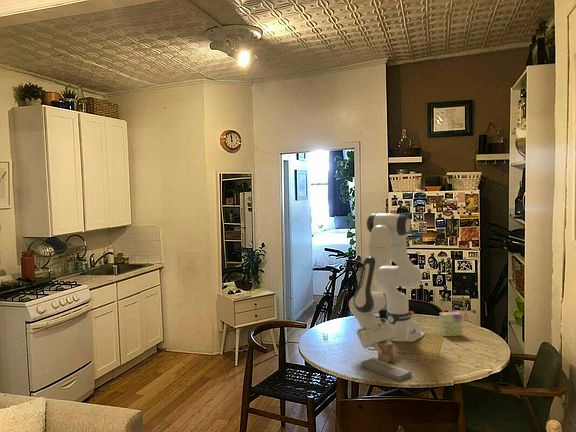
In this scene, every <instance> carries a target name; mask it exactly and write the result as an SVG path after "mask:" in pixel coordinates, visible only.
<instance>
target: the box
mask: <svg viewBox="0 0 576 432" xmlns="http://www.w3.org/2000/svg"><path fill="white" fill-rule="evenodd" d="M438 316H439V318H438V320H439V334H440V335H441V336H443V337H453V336H454V337H458V336H459V337H461V336H462V335H463V323H462V322H463V321H462V319H463V316H462V313H460V311H448V312H447V311H446V312H439V315H438Z"/></svg>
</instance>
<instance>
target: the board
mask: <svg viewBox="0 0 576 432" xmlns="http://www.w3.org/2000/svg"><path fill="white" fill-rule="evenodd" d="M360 367H362V368H364V369H368V370H369V371H371V372H375V373H378V374H379V375H383V376H384V377H387V378H390V379H392V380H395V381H397V382H401V381H403V380H406V379H408V378H410V377H412V371H410V370H408V369H405V368H403V367H400V366H398V365H394V364H392V363H390V362H387V363H386V362H383V361H381V360H378V358H376V357H371V358H369V359H365V360H362V361H360Z"/></svg>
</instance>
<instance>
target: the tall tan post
mask: <svg viewBox="0 0 576 432" xmlns="http://www.w3.org/2000/svg"><path fill="white" fill-rule="evenodd" d="M378 347H380V348H382V349H383V353H381V354H379V352H378V351H377V359H378V360H381V361H383V362H386V363H390V362H392V361H394V343H393V342H391V343H390V342H387V341H383V342H380V343H378Z"/></svg>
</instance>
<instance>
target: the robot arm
mask: <svg viewBox="0 0 576 432" xmlns="http://www.w3.org/2000/svg"><path fill="white" fill-rule="evenodd" d="M366 228H367V230H368V232H369V233H370V235H369V239H368V244H367V252H366V256H365V258H364V261H363V264H362V266H361V271H360V277H359V280H358V281H359V282H358V285H357V289H356V292H355V293H354V295H353V296H352V297H351V298H350V299H349V302H348V307H349V310H350V311H351V313H352V315H353V317H354V318H355V319H356V320H357V322H358V324H359V327H360V328H358V329H357V330H356V335H357V336H358V339H359V341H360V344H361V346H362V347H363V349H368V348H371V347H372V348H373V349H374V350H376V351H377V353H378V352H379V354H381V353H383V349H382V348H380V347H378V343H380V342H383V341H387V342H390V343H392V342H407V343H408V342H410V343H411V342H414V341H416V340H419V339H420V338H422V337H424V336H425V332H423V331H421V327H420V324H419V323H418V322H416V321H415V320H414V319H413V318H412V316H414V314H415V312H414V311H412V310H410V311H409V298H408V296H407V295H406V293H403V292H401V291H399V290H398V288H397V287H401V288H402V287H404V288H405V287H406V288H410V287H411V288H412V287H417V286H419V285H420V284H421V283H422V281H423V272H422V271H421V269H420V268H419V267H417V266H416V265H415V264H414V263H413V262H412V261H411V259H410V258H409V254H408V249H407V248H408V247H407V237H406V235H407V234H408V233H409V232H410V229H411V219H410V217H409V216H408V215H406V214H402V213H401V214H399V213H393V212H389V213H387V212H386V213H384V212H383V213H378V212H376V213H371V214H369V216H368V217H367V219H366ZM389 261H391V262H393V263H394V264H395V265H386V264H388V263H389ZM373 282H375V284H376V285H377V286H378V287H380V289H382V291H383V292H384V293H383V292H381V291H376V290H372V287H373ZM383 294H385V295H386V298H387V320H386V319H383V318H376V316H377V315H376V314H377V313H379V311H380V310H382V309H383V308H384V307H385V305H386V299H385V296H384V295H383Z"/></svg>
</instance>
